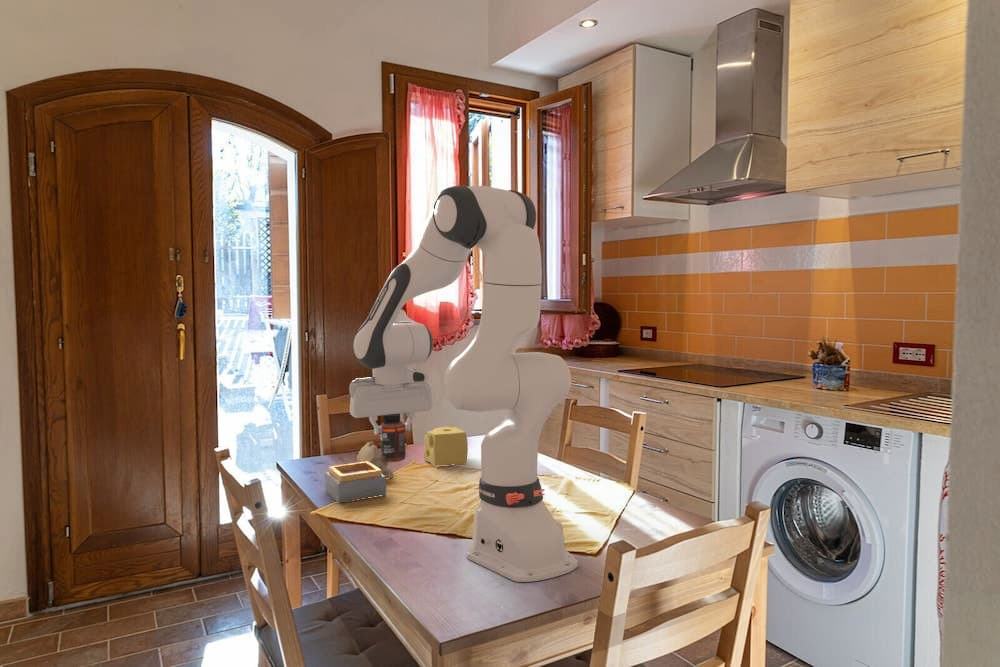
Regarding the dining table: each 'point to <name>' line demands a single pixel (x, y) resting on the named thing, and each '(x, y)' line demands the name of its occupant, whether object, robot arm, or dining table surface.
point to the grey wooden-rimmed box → (355, 481)
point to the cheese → (446, 446)
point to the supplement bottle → (392, 439)
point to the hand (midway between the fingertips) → (392, 432)
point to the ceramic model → (374, 458)
